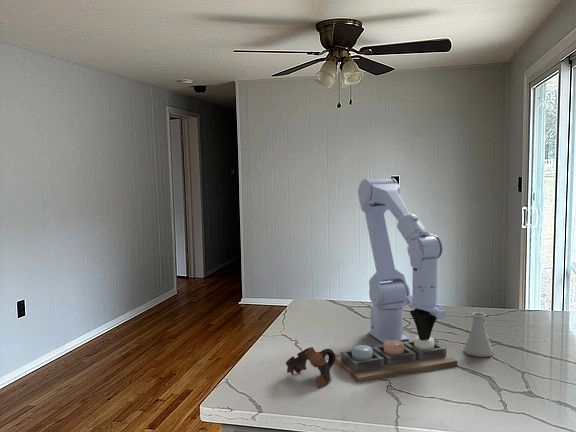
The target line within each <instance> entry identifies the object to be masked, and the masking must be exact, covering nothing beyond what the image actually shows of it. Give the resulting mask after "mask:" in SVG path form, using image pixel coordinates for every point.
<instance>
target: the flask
mask: <svg viewBox="0 0 576 432" xmlns="http://www.w3.org/2000/svg"><path fill="white" fill-rule="evenodd" d="M471 316H472V325H471V330H470V332H469V335H468V338H467V340H466V342H465V345H464V348H463V350H462V351H463V353H465V354H466V355H468V356H472V357H478V358H480V357H481V358H485V357H492V356H493V354H494V350H493V347H492V345H491V342H490V339H489V336H488V333H487V330H486V326H485V324H486V323H485V317H486V314H485V313H484V312H472V314H471Z"/></svg>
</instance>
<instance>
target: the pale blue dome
mask: <svg viewBox="0 0 576 432" xmlns="http://www.w3.org/2000/svg"><path fill="white" fill-rule="evenodd" d="M351 350H352V358H353V359H354V360H355V361H362V360H368V359H372V347H371V346H369V345H366V344H357V345H354V346H352V347H351Z"/></svg>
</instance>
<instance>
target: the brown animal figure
mask: <svg viewBox="0 0 576 432" xmlns="http://www.w3.org/2000/svg"><path fill="white" fill-rule="evenodd" d="M335 355H336V353H335V352H334V350H333V349H332V348H324V349H322V350H321V351H315V349H314V346H310V347H308V348H306V349H304V350H302V351H300V352H298V353H297V356H296V357H295V356H294V355H293V356H291V357H290V358H289V359H287V360H286V362H285V365H286V367H287V368H286V372H287V373H288V374H291V375H292V376H294V374H295V373H294V372H296V373H297V374H301V372H302V371H306V370H307V367H306V365H307V361H309V363H310V365H311V366H312V367H314V368H317V369H318V370H319V373H320V375H318V376H317V377H316V378H314V382H315V384H316V385H317V388H318V389H321V388H323V387H324V386H325V385H327V384H328V383H330V382H331V381H332V379H331V373H330V372H331V371H330V370H331V369H332V367H333V366H334V364H335ZM326 356H328V361H327V360H326Z"/></svg>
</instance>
